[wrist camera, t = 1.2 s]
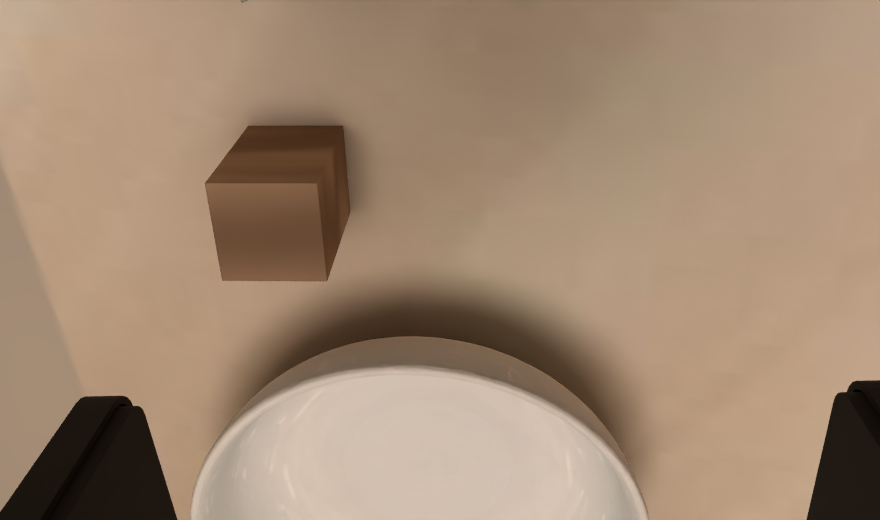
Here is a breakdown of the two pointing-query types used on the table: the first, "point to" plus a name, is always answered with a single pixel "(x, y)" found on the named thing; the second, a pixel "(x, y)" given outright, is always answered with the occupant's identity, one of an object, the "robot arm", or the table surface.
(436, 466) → the serving bowl
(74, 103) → the table surface
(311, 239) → the walnut block
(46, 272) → the table surface
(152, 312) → the table surface
